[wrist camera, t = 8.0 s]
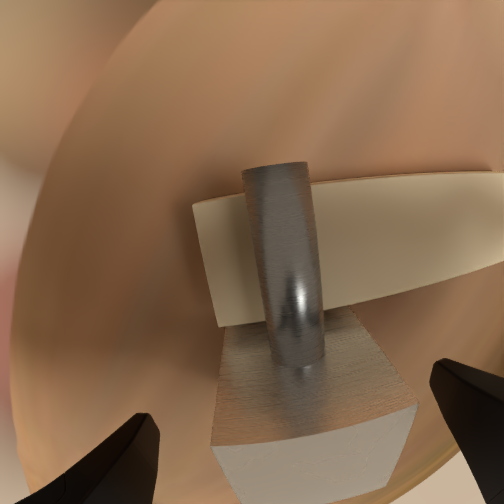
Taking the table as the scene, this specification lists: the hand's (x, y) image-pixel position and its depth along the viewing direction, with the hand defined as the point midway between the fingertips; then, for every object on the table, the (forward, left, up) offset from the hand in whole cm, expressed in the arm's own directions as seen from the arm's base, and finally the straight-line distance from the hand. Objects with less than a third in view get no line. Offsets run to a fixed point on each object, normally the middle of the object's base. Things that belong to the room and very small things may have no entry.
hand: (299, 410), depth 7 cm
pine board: (+4, -5, -3) cm, 7 cm away
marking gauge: (+2, 0, -4) cm, 4 cm away
